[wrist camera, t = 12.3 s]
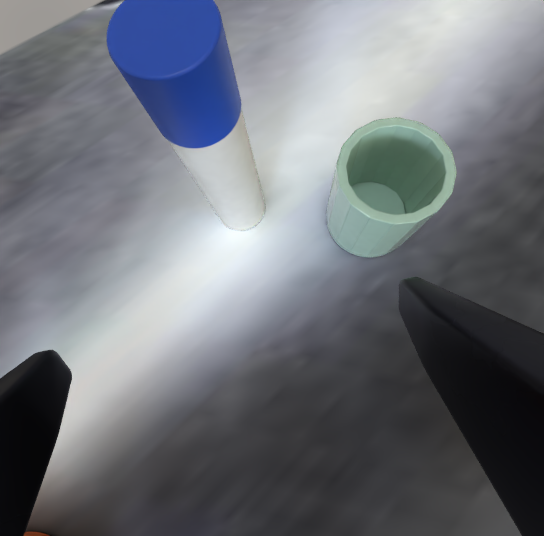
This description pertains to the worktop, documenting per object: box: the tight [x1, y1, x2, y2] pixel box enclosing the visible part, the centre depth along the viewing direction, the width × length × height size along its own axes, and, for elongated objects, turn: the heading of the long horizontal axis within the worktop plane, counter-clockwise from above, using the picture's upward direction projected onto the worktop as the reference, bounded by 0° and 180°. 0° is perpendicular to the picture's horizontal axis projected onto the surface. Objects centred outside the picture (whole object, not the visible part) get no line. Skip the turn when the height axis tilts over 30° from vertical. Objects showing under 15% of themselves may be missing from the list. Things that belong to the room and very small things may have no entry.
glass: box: [326, 117, 456, 257], centre depth 16 cm, size 5×5×6 cm
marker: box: [107, 0, 265, 231], centre depth 14 cm, size 3×3×12 cm
